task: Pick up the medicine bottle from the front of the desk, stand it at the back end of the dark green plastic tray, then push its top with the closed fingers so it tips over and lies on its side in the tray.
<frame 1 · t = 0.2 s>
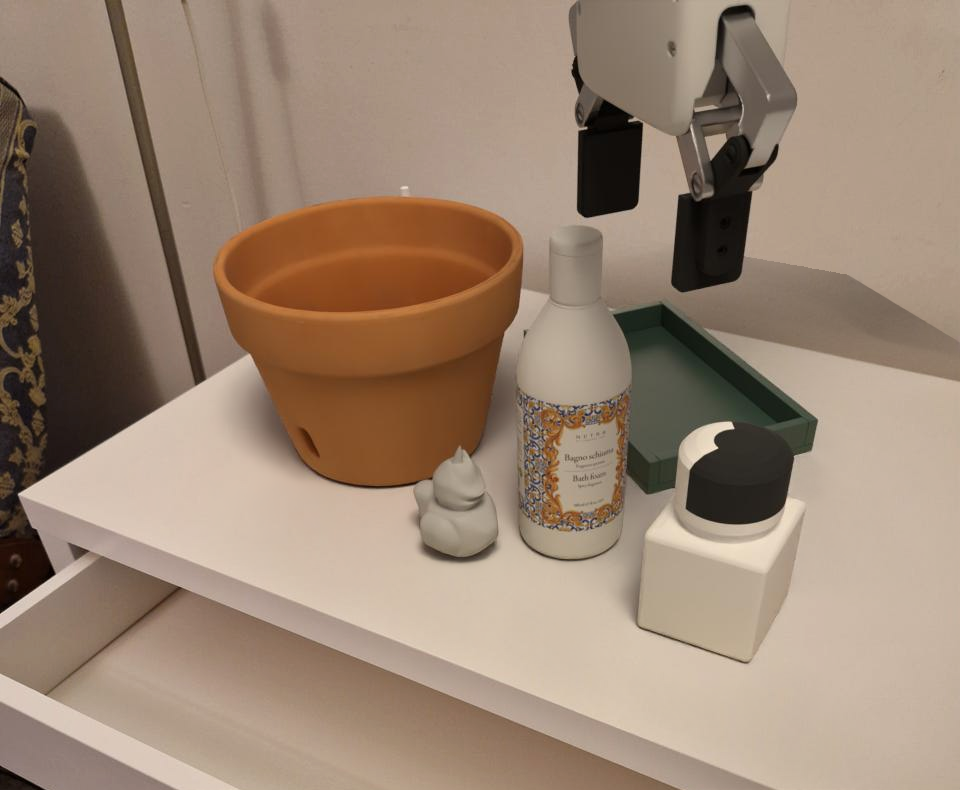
hand: (653, 245, 47), 22 cm above the table, tool pointing down, fingers open, 9 cm apart
rubber duck: (457, 545, 68), on the table
tray: (656, 400, 80), on the table
flower pot: (391, 438, 78), on the table
eye dropper bottle: (417, 324, 93), on the table
medicine bottle: (712, 613, 61), on the table
bath foam: (570, 533, 68), on the table
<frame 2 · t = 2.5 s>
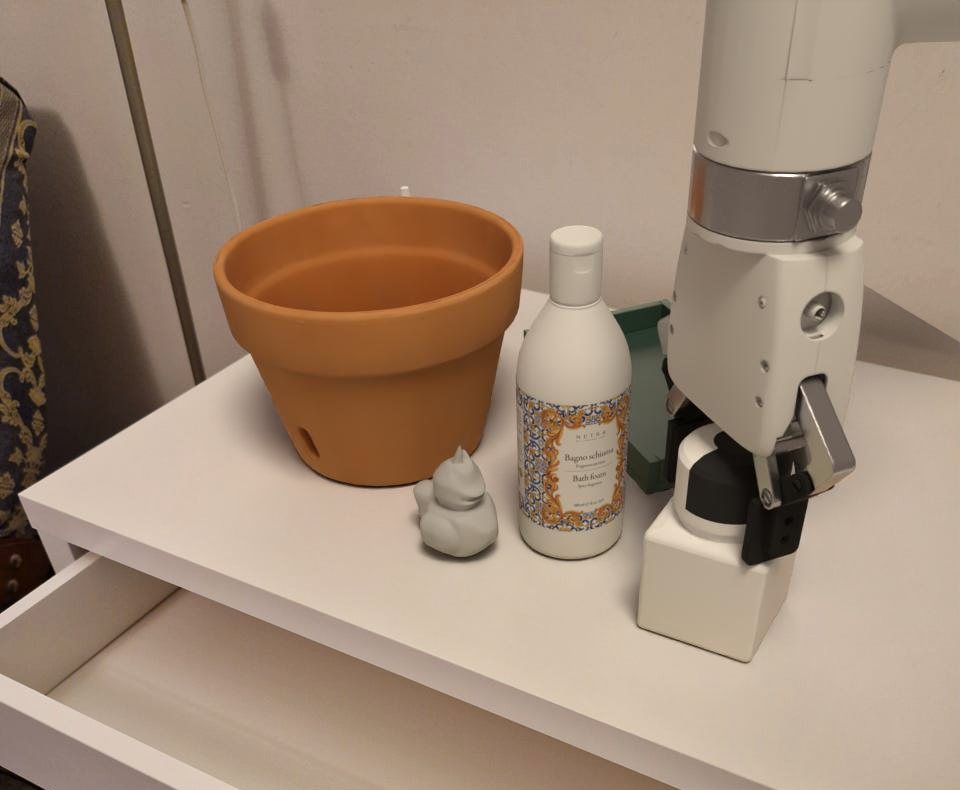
hand: (727, 512, 56), 7 cm above the table, tool pointing down, fingers closed on medicine bottle, 7 cm apart
medicine bottle: (712, 614, 61), on the table, touching gripper
everything else where it was.
when the fingers open (10 cm above the table, at t = 12.5 s): medicine bottle stays where it is, resting on tray.
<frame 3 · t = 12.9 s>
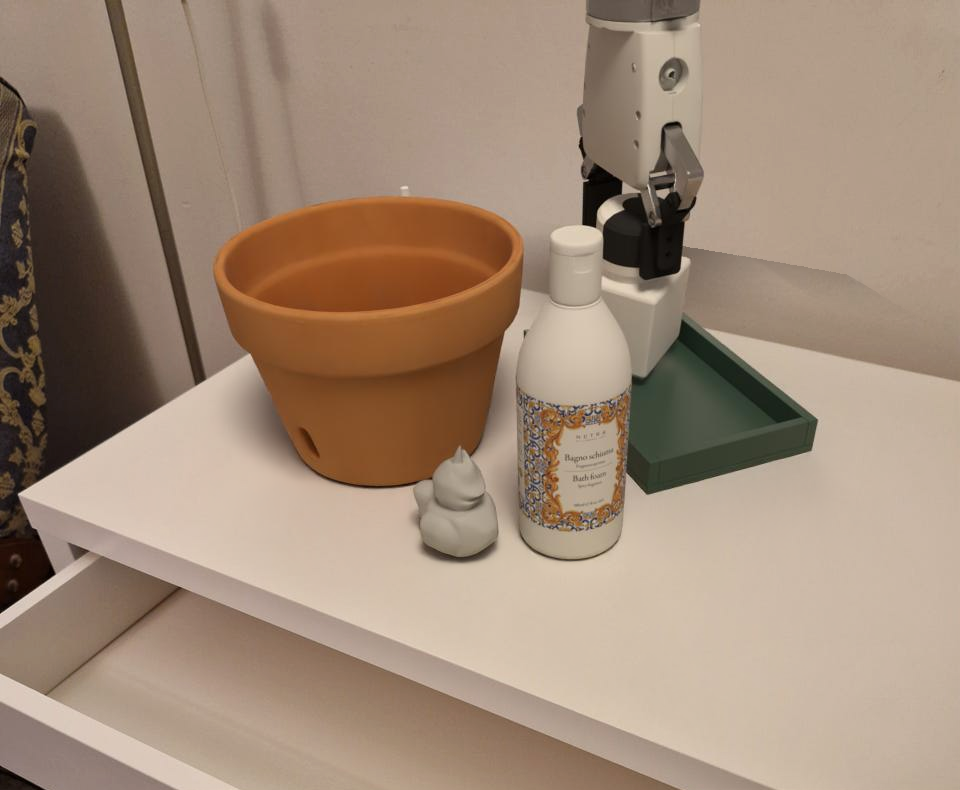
hand: (629, 252, 78), 10 cm above the table, tool pointing down, fingers open, 9 cm apart
medicine bottle: (622, 348, 83), point 2 cm above the table, touching gripper, tray
everything else where it was.
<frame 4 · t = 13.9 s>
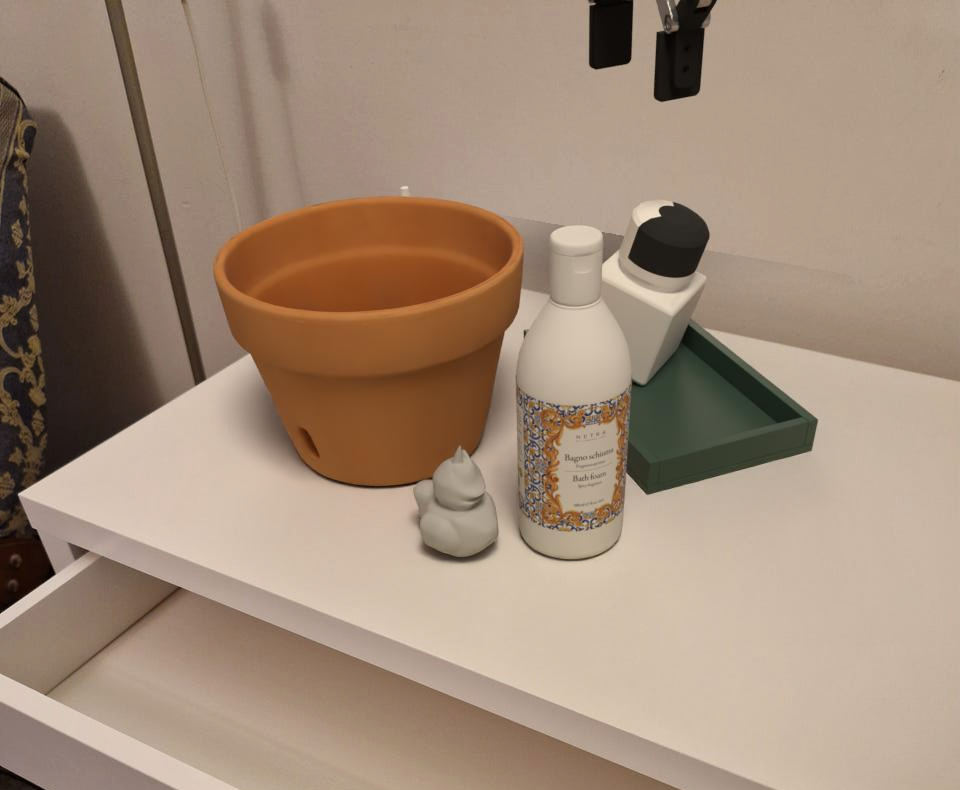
hand: (641, 81, 70), 22 cm above the table, tool pointing down, fingers open, 9 cm apart
medicine bottle: (622, 351, 83), point 1 cm above the table, touching tray
everything else where it was.
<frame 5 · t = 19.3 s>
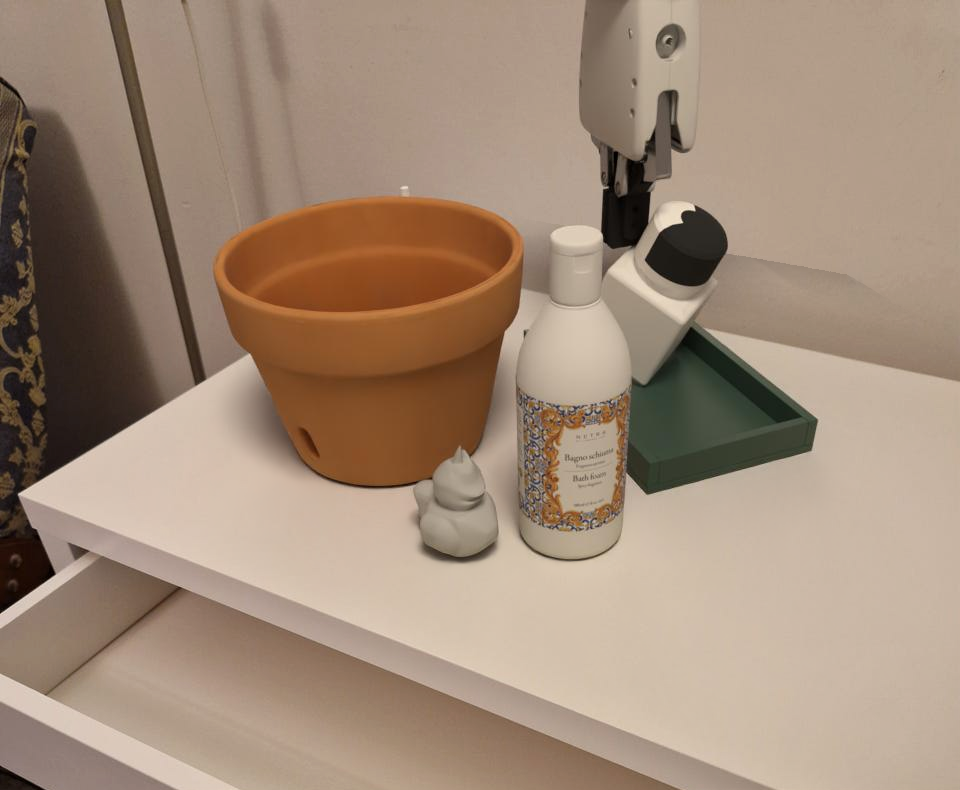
hand: (623, 242, 77), 10 cm above the table, tool pointing down, fingers closed
medicine bottle: (624, 344, 83), point 2 cm above the table, touching gripper, tray
everything else where it was.
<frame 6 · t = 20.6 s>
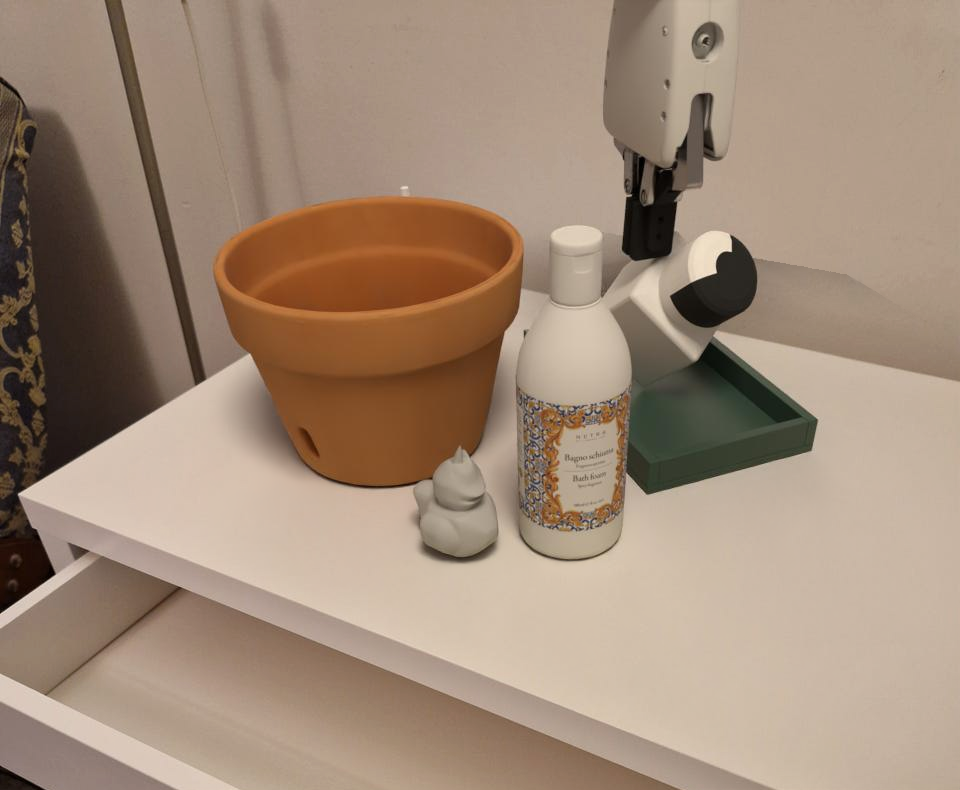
hand: (646, 253, 73), 12 cm above the table, tool pointing down, fingers closed
medicine bottle: (631, 328, 81), point 4 cm above the table, touching gripper, tray
everything else where it was.
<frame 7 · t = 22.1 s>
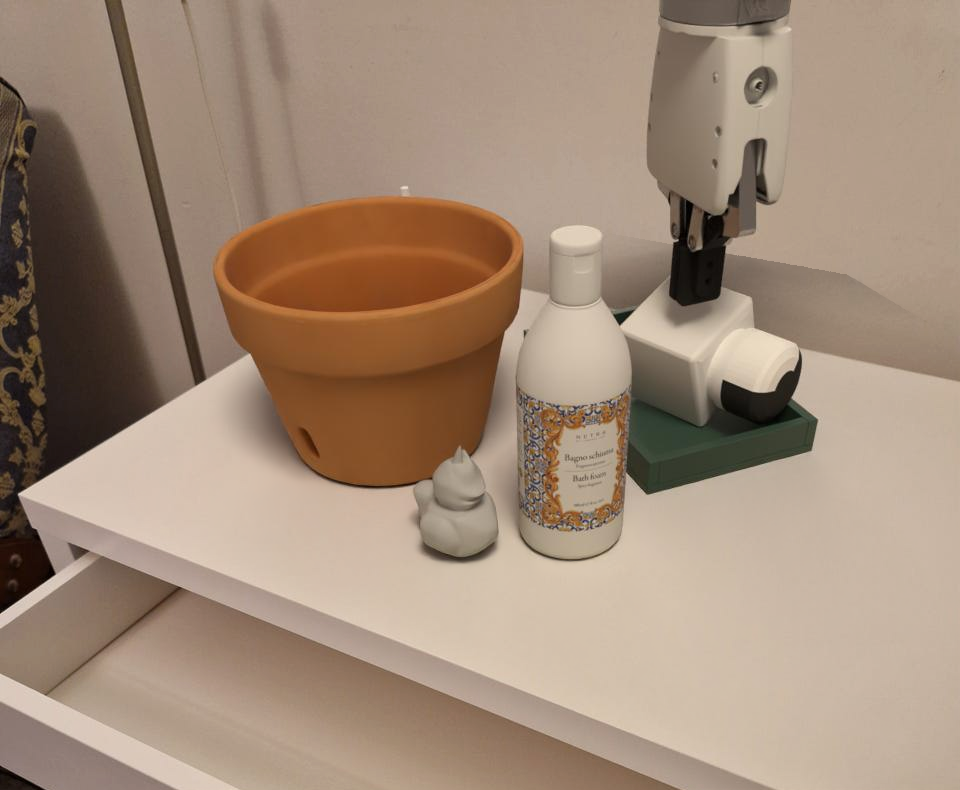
hand: (694, 298, 70), 10 cm above the table, tool pointing down, fingers closed
medicine bottle: (649, 333, 77), point 5 cm above the table, touching tray
everything else where it was.
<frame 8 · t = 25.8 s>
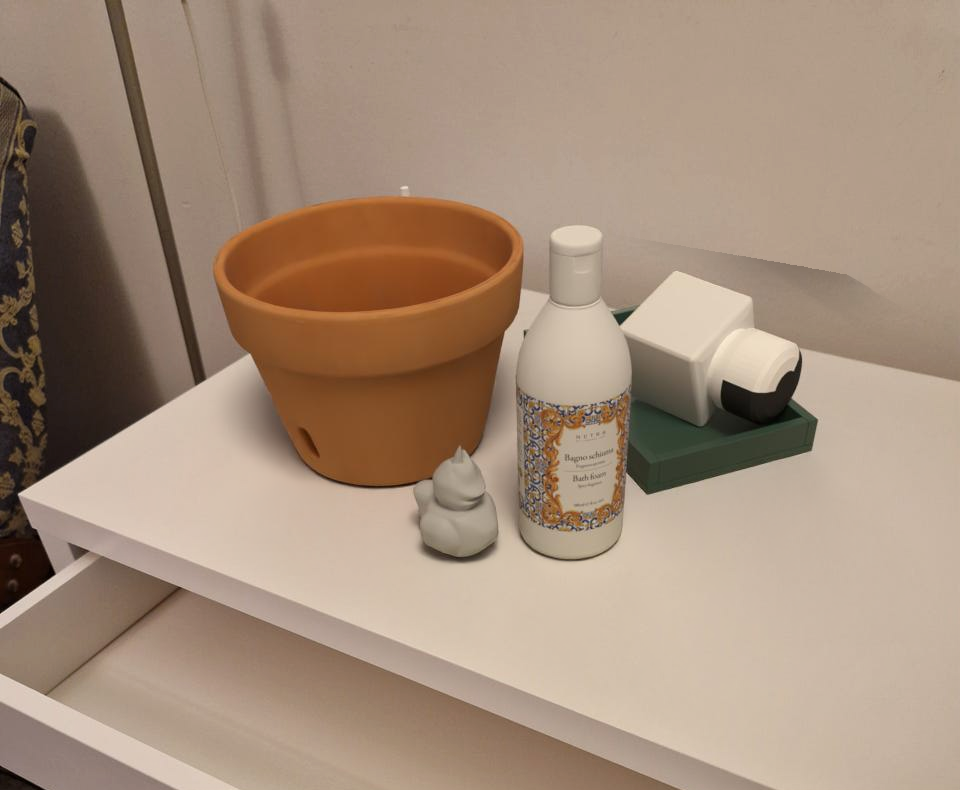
nothing on the table moved.
at the end: medicine bottle tilted 91°; medicine bottle inside the target area in the tray (1.4 cm from its centre), point 5.2 cm above the tray's base; the gripper is holding nothing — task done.
